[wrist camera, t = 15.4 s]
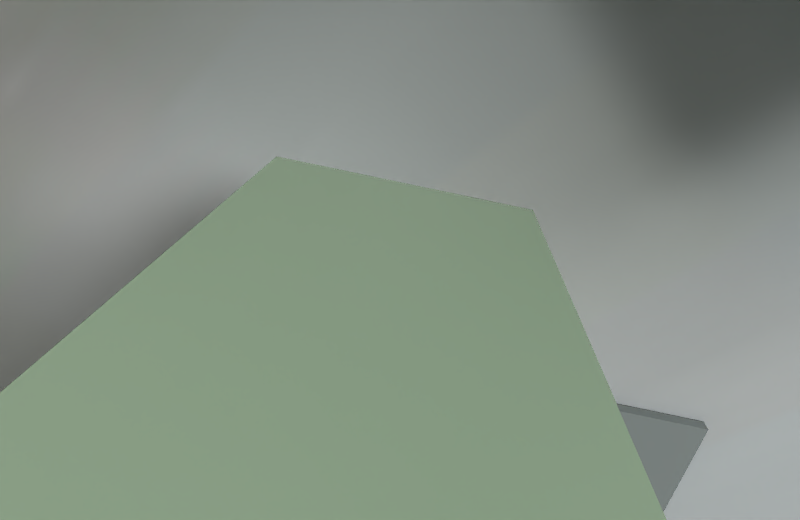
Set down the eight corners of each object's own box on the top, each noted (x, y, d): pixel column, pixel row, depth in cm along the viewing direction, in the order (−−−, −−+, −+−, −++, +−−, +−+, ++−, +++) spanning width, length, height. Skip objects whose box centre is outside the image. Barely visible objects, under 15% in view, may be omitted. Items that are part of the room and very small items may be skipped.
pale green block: (276, 156, 13) (-339, 681, 3) (532, 209, 13) (837, 915, 3) (249, 425, 16) (-77, 1108, 6) (453, 467, 16) (463, 1212, 6)
